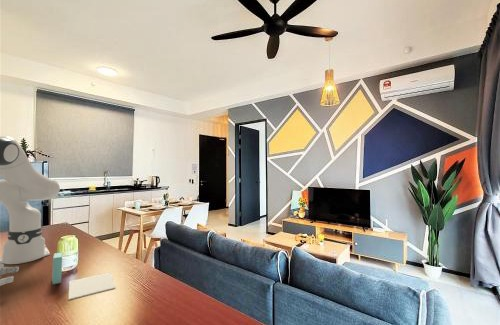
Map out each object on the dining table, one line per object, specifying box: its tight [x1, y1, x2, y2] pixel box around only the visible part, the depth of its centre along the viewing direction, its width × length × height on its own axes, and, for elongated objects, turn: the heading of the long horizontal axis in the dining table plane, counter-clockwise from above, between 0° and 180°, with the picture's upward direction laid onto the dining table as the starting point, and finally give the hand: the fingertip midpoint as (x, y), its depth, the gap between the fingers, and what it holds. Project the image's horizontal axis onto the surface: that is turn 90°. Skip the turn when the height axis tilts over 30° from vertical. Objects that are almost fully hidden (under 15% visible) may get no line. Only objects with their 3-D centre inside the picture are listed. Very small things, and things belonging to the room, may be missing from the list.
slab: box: [51, 252, 63, 285], centre depth 94 cm, size 6×3×10 cm, turn 36°
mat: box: [68, 271, 116, 301], centre depth 91 cm, size 15×14×1 cm
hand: (15, 273), depth 87 cm, fingers open, 8 cm apart
